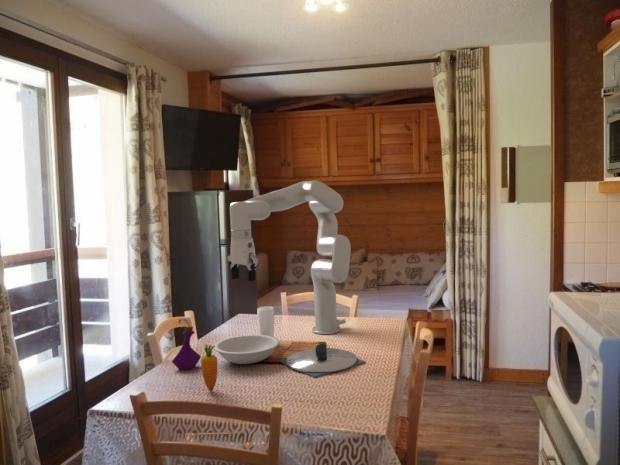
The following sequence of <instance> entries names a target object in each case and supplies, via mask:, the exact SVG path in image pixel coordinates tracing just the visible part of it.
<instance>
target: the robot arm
mask: <svg viewBox="0 0 620 465" xmlns="http://www.w3.org/2000/svg"><path fill="white" fill-rule="evenodd" d="M307 202H308V206H309V207H308V208H310V210H311V211H312V213H313V214H314V215H315V217H316V219H317V224H318V227H317V238H316V252H317V254H319V255H320V256H324V257H332V258H331V259H325V258H320V259H316V260H314V261H313V262H312V264H311V266H310V275H311V280H312V284H313V298H314V299H313V303H314V320H315V321H314V322H315V324H314V327H312V328H311V332H312V333H314V334H317V335H331V334H337V333H340V332H341V330H342V328H341V326H340V325H343V324H346V322H347V321H346V319H345V318H343V319H338V314H337V291H336V286H335V283H336V284H341V283H344V282H345V281H346V280H347V278H348V275H349V270H350V262H351V261H350V260H351V251H352V250H351V249H352V248H351V242H350V240H349V238H348V237H347V236H345V235H343V234H338V228H339V227H338V226H339V225H338V220H337V217H336V215H335V214H337V213H340V212H341V211H342V209H343V207H344V200H343V197H342V195H341V194H340V193H338V192H337V191H336V190H334V189H333V188H331V187H329V186H328V185H327V184H325V183H324V182H323V181H319V180H305V181H304V180H303V181H299V182H297V183H296V182H295V183H294V184H292V185H289V186H286V187H283V188H281V189H278V190H274V191H271V192H268V193H265V194H264V193H263V194H261V195H257V196H254V197H252V198H248V199H247V200H244V201H235V202H231V203H230V205H229V218H230V238H231V239H230V249H229V250H230V253H229V255H228V256H227V257H226V258H227V261H228V264H229V268H230V269H231V270H230V271H231V273H230V274H231V280H236V279H240V270H239V269H240V268H239V266H246V268H247V271H246V272H247V281H248V282H253V281H256V270H257V267H258V263H259V258H258V257H257V256H256V249H255V243H254V239H253V237H252V222H251V221H263V220H265V219H268V218H269V217H270V216H271V212H272V213H273V212H283V211H286V210H289V209H292V208H294V207H297V206H298V205H301V204H303V203H307Z"/></svg>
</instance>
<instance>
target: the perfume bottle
mask: <svg viewBox="0 0 620 465" xmlns="http://www.w3.org/2000/svg"><path fill="white" fill-rule="evenodd" d="M181 321H184V323H186V324H187V326H185V327H184V331H183V332H182V335H184V341H183V343H182V346H181V348H180V350H179V351H178V352H177V353H176V356H175V357H174V358H173V359H172V360H171V363H172V364H173V365H174V366H176V368H177V369H178V370H183V371H190V370H192V369H194V368H195V367H196V366H197V365H198V363H199V361H200V360H201V358H202V356H201V355H200V354H199V353H198V352H196V351H195V350H194V349H193V347H191V337H192V336H193V335H194V334H195V331H194V330H193V329H194V327H193V326H190V324H189V320H188V318H187V317H182V318H180V319H178V323H179V324H181Z"/></svg>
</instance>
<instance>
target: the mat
mask: <svg viewBox="0 0 620 465" xmlns="http://www.w3.org/2000/svg"><path fill="white" fill-rule="evenodd" d="M287 358H288V357H286V358H283V359H279V360H278V362H279V361H280V362H282V363H281V364H283V365H285V366H287V363H286V360H287ZM280 362H279V363H280ZM363 364H366V360H363V359H360V358H357V362H356V363H355V364H354V365H353V366H352V367H351V368H354V367H357V366H360V365H363ZM299 372H301V371H299ZM336 372H338V371H336ZM336 372H335V373H336ZM301 373H303V374H305V375H307V376H310V377H312V378H314V379H315V378H316V379H317V378H319V377H323V376H326V375H330V374H333V373H334V372H329V373H309V372H301Z"/></svg>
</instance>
